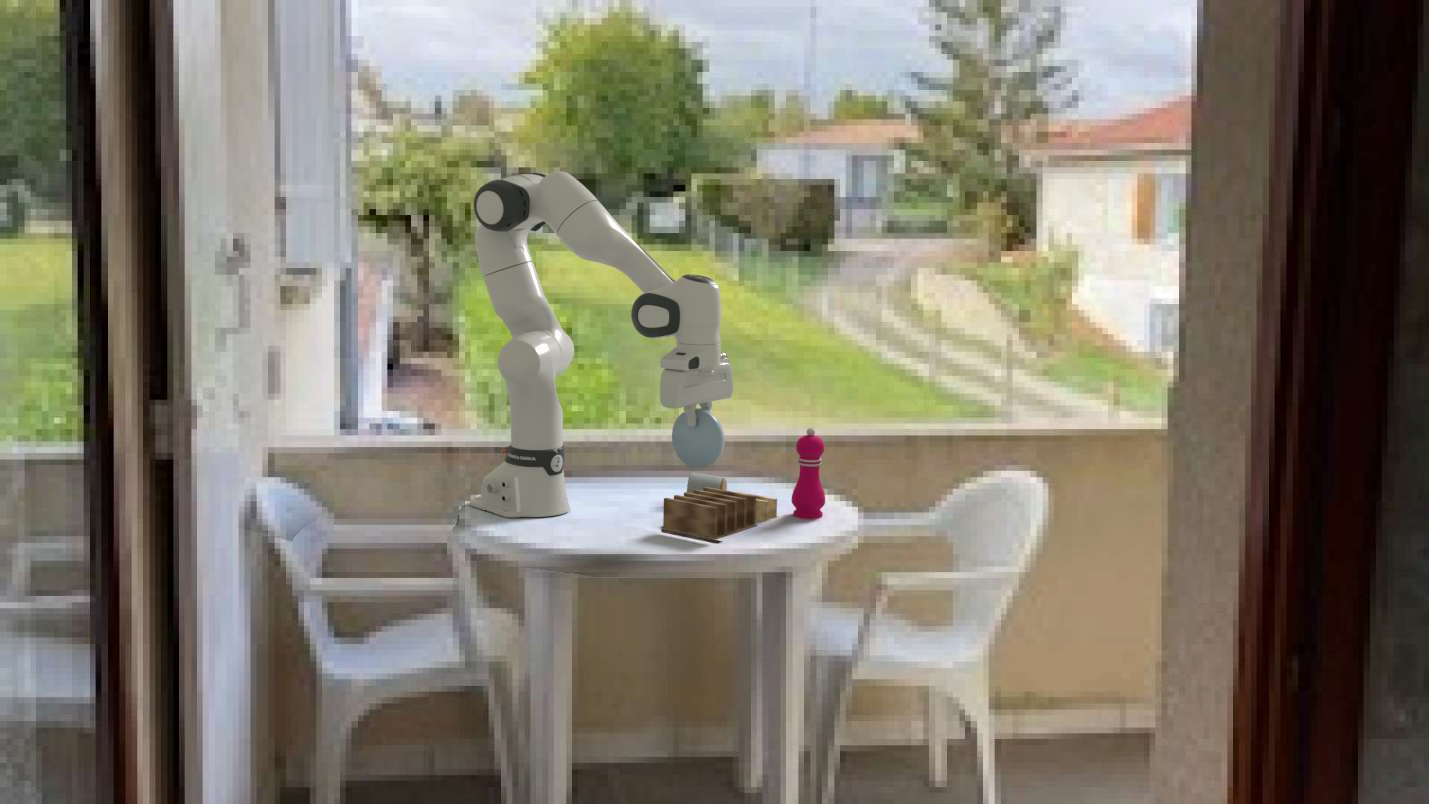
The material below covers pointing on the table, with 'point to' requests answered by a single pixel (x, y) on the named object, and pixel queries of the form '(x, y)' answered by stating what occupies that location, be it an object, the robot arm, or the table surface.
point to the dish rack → (709, 514)
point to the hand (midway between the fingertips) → (697, 425)
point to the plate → (698, 440)
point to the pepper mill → (809, 478)
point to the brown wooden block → (765, 508)
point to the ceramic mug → (705, 482)
